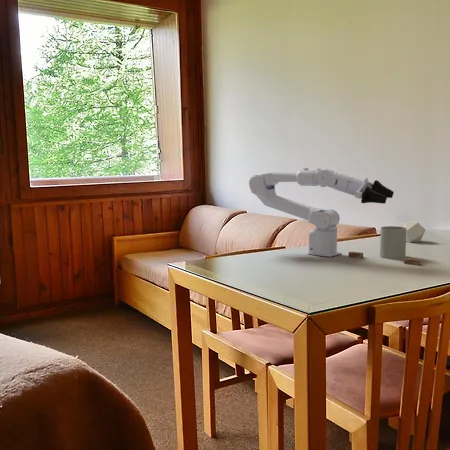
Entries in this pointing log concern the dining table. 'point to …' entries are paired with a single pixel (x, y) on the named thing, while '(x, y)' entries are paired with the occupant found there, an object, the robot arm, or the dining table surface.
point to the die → (414, 231)
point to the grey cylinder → (393, 242)
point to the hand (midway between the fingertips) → (389, 197)
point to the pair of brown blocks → (406, 260)
